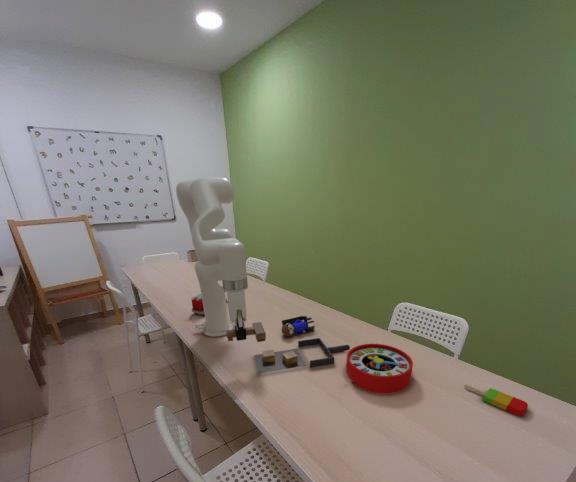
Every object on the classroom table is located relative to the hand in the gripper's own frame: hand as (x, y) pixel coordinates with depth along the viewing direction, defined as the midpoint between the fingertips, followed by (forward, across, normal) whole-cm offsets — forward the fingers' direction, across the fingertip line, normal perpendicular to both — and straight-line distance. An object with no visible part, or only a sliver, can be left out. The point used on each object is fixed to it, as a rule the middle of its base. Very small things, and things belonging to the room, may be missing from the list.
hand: (241, 337), depth 98 cm
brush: (0, 0, +2) cm, 2 cm away
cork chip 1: (+11, -1, +9) cm, 14 cm away
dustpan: (+12, 0, +30) cm, 32 cm away
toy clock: (+12, +16, +41) cm, 46 cm away
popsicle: (+13, +36, +66) cm, 76 cm away
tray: (+12, 0, +12) cm, 17 cm away
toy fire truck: (+11, -59, -11) cm, 61 cm away
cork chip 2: (+11, +2, +16) cm, 19 cm away
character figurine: (+11, -19, +24) cm, 33 cm away
